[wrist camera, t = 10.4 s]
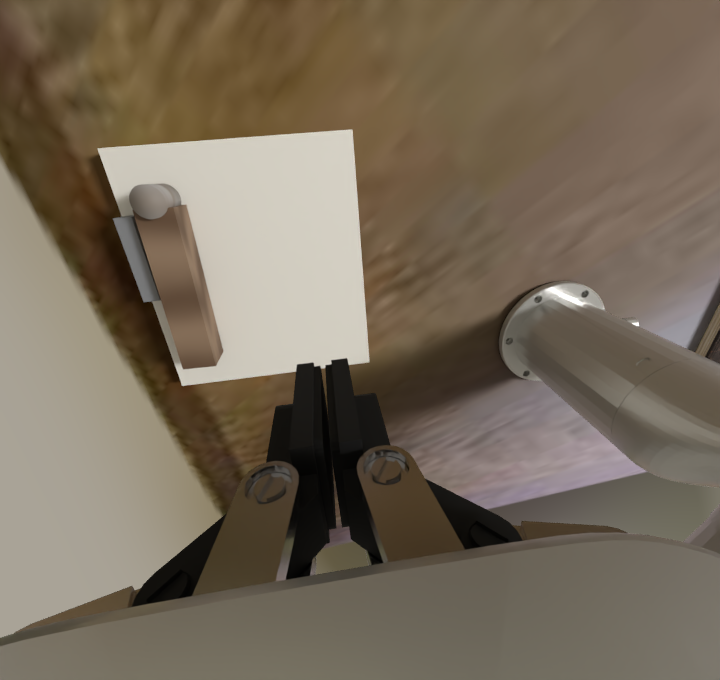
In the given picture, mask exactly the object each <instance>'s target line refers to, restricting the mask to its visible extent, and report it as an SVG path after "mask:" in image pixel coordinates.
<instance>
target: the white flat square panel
mask: <svg viewBox="0 0 720 680" xmlns="http://www.w3.org/2000/svg"><path fill="white" fill-rule="evenodd" d="M97 149H98V152H99V154H100V157H101V160H102V163H103V166H104V168H105V171H106V174H107V177H108V180H109V182H110V185H111V188H112V191H113V194H114V196H115V199H116V202H117V205H118V208H119V210H120V213H121V216H122V217H117V218H113V220H114V223H115V226H116V228H117V231H118V234H119V237H120V239H121V242H122V245H123V247H124V250H125V253H126V256H127V258H128V261H129V264H130V266H131V269H132V272H133V275H134V277H135V280H136V283H137V285H138V288H139V291H140V293H141V296H142V299H143V302H151V301H152V303H153V305H154V308H155V311H156V314H157V317H158V319H159V322H160V325H161V328H162V331H163V333H164V336H165V339H166V342H167V345H168V347H169V350H170V353H171V356H172V359H173V361H174V364H175V367H176V370H177V373H178V375H179V378H180V381H181V384H182V386H185V385H193V384H201V383H209V382H217V381H225V380H233V379H241V378H249V377H257V376H265V375H273V374H281V373H289V372H296V368H297V364H304V363H312V362H313V363H314V366H320V367H321V368H325V365H330V364H332V363H331V360H336V359H344V358H347V360H348V365H352V364H360V363H368V362H369V350H368V337H367V323H366V309H365V296H364V282H363V268H362V255H361V241H360V227H359V213H358V200H357V186H356V172H355V159H354V145H353V131H352V130H340V131H326V132H313V133H299V134H286V135H272V136H259V137H245V138H232V139H218V140H205V141H191V142H178V143H164V144H151V145H138V146H124V147H111V148H97ZM141 184H168V185H170V186H172V187H173V188H175V189H176V190H177V192H178V193H179V195H180V197H181V205H187V209H188V213H189V217H190V221H191V225H192V229H193V233H194V237H195V241H196V245H197V248H198V252H199V256H200V260H201V264H202V268H203V272H204V276H205V280H206V284H207V288H208V292H209V296H210V300H211V304H212V308H213V312H214V316H215V320H216V324H217V328H218V332H219V336H220V340H221V344H222V348H223V353H222V355H221V357H220V359H219V361H218V363H217V365H216V366H212V367H202V368H192V369H183V368H182V365H181V362H180V359H179V356H178V352H177V349H176V346H175V343H174V340H173V337H172V333H171V330H170V327H169V324H168V321H167V318H166V315H165V311H164V308H163V305H162V302H161V299H160V296H159V293H158V289H157V286H156V283H155V280H154V277H153V274H152V271H151V267H150V264H149V261H148V258H147V255H146V252H145V249H144V245H143V242H142V239H141V236H140V233H139V230H138V226H137V223H136V220H135V217H134V214H133V211H132V210H133V208H132V207H131V204H130V201H129V194H130V192H131V190H132V189H133V188H134V187H135V186H137V185H141Z"/></svg>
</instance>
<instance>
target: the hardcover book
mask: <svg viewBox="0 0 720 680" xmlns="http://www.w3.org/2000/svg"><path fill="white" fill-rule="evenodd" d="M695 353H697V354H699V355H701V356H703V357H705V358H708V359H710V360H712V361H714V362H716V363H719V364H720V303H719V305H718V307H717V309H716V311H715V313H714V315H713V318H712V320H711V322H710V324H709V326H708V328H707V330H706V332H705V334H704V336H703V338H702V340H701V342H700V344H699V346H698V348H697V350H696V352H695Z"/></svg>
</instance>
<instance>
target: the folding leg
mask: <svg viewBox="0 0 720 680" xmlns="http://www.w3.org/2000/svg"><path fill="white" fill-rule="evenodd" d="M129 201H130V204H131V207H132V208H133V210H132V211H133V214H134V217H135V220H136V223H137V226H138V230H139V233H140V236H141V239H142V242H143V245H144V249H145V252H146V255H147V258H148V261H149V264H150V267H151V271H152V274H153V277H154V280H155V283H156V286H157V289H158V293H159V296H160V299H161V302H162V305H163V308H164V311H165V315H166V318H167V321H168V324H169V327H170V330H171V333H172V337H173V340H174V343H175V346H176V349H177V352H178V356H179V359H180V362H181V365H182V368H183V369H192V368H202V367H212V366H216V365H217V363H218V361H219V359H220V357H221V355H222V353H223V348H222V344H221V340H220V336H219V332H218V328H217V324H216V320H215V316H214V312H213V308H212V304H211V300H210V296H209V292H208V288H207V284H206V280H205V276H204V272H203V268H202V264H201V260H200V256H199V252H198V248H197V245H196V241H195V237H194V233H193V229H192V225H191V221H190V217H189V213H188V209H187V205H181V197H180V195H179V193H178V192H177V190H176V189H175V188H173V187H172V186H170V185H168V184H141V185H137V186H135V187H134V188H133V189H132V190H131V192H130V194H129Z"/></svg>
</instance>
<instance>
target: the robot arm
mask: <svg viewBox="0 0 720 680" xmlns="http://www.w3.org/2000/svg"><path fill="white" fill-rule="evenodd" d="M638 326H639V322H638V320H637V319H636V318H633V317H631V318H623V319H621V318H619V317H617V316H614V315H612V314H610V313H608V312H606V311H605V307H604V305H603V302H602V300H601V298H600V297H599V295H598V294H597V293H596V292H595V291H593V290H592V289H591V288H589V287H587V286H585V285H582V284H579V283H576V282H572V281H558V282H552V283H549V284H545V285H543V286H541V287H538V288H536V289H534V290H533V291H531V292H530V293H528V294H527V295H525V296H524V297H523V298H522V299H521V300H520V301H519V302H518V303H517V304H516V305H515V306H514V307H513V308H512V310H511V311H510V312H509V314H508V315H507V317H506V319H505V321H504V323H503V326H502V328H501V331H500V337H499V351H500V355H501V358H502V360H503V362H504V363H505V365H506V366H507V367H508V368H509V369H510V370H511V371H512V372H513V373H514V374H516V375H517V376H519V377H521V378H523V379H526V380H531V381H543V382H544V383H545V384H546V385H548V386H549V387H550V388H551V389H552V390H553V391H554V392H555V393H556V394H558V395H559V396H560V397H561V398H562V399H563V400H564V401H565V402H567V403H568V404H569V405H570V406H571V407H572V408H573V409H574V410H575V411H577V412H578V413H579V414H580V415H581V416H582V417H583V418H584V419H586V420H587V421H588V422H589V423H590V424H591V425H592V426H593V427H595V428H596V429H597V430H598V431H599V432H600V433H601V434H602V435H603V436H605V437H606V438H607V439H608V440H609V441H610V442H611V443H612V444H614V445H615V446H616V447H617V448H618V449H619V450H620V451H621V452H622V453H623V454H625V455H626V456H627V457H628V458H629V459H630V460H631V461H633V462H634V463H635V464H637V465H638V466H639V467H641V468H643V469H644V470H646V471H648V472H650V473H652V474H654V475H656V476H659V477H662V478H665V479H668V480H672V481H675V482H681V483H686V484H693V485H701V486H709V487H719V488H720V364H719V363H716V362H714V361H712V360H710V359H708V358H705V357H703V356H701V355H699V354H697V353H695V352H692V351H690V350H688V349H686V348H684V347H682V346H679V345H677V344H675V343H673V342H671V341H669V340H666V339H664V338H662V337H660V336H658V335H656V334H653V333H651V332H649V331H647V330H645V329H643V328H640V327H638ZM331 363H332V364H330V365H325V368H326V385H327V402H328V414H327V407H326V400H325V394H324V387H323V380H322V373H321V367H320V366H314V363H313V362H312V363H304V364H297V368H296V379H295V390H294V400H293V404H288V405H281V406H276V408H275V413H274V419H273V425H272V431H271V437H270V443H269V449H268V455H267V461H266V463H264V464H261V465H259V466H257V467H255V468H254V469H252V470H251V471H249V472H248V473H247V474H246V475H245V476H244V477H243V479H242V481H241V482H240V484H239V486H238V489H237V491H236V493H235V496H234V498H233V500H232V503H231V505H230V507H229V510H228V512H227V514H225V515H224V516H223V517H222V518H221V519H219V520H218V521H217V522H216V523H215V524H213V525H212V526H211V527H210V528H209V529H207V530H206V531H205V532H204V533H203V534H202V535H200V536H199V537H198V538H197V539H195V540H194V541H193V542H192V543H191V544H189V545H188V546H187V547H186V548H184V549H183V550H182V551H181V552H180V553H179V554H177V555H176V556H175V557H174V558H172V559H171V560H170V561H169V562H168V563H166V564H165V565H164V566H163V567H162V568H161V569H159V570H158V571H157V572H156V573H154V574H153V576H152V577H150V578H149V579H148V580H147V581H146V583H144V585H143V586H142V588H140V589H138V590H134V588H133V587H132V586H130V587H128V588H125V589H122V590H120V591H117V592H114V593H112V594H109V595H107V596H104V597H101V598H99V599H96V600H93V601H91V602H88V603H85V604H83V605H80V606H78V607H75V608H72V609H69V610H67V611H64V612H61V613H59V614H56V615H54V616H51V617H48V618H46V619H43V620H40V621H38V622H35V623H32V624H30V625H28V626H26V627H25V628H22V629H20V630H19V631H17V632H15V633H14V634H11V635H8V636H5V637H2V638H0V680H720V504H719V505H718V506H717V507H716V508H715V509H714V510H713V511H712V512H711V514H710V517H709V518H708V519H707V520H706V521H705V522H703V523H702V524H701V525H700V526H699V527H698V528H697V529H696V530H695V531H694V532H693V533H692V534H691V535H690V536H689V537H688V538H687V539H686V540H684V541H683V542H681V541H676V540H671V539H666V538H661V537H656V536H650V535H642V534H629V533H626V532H624V531H622V530H620V529H618V528H613V527H608V526H597V525H581V524H564V523H546V522H529V521H522V522H521V526H514V525H511V524H510V523H509V522H508V521H506V520H504V519H503V518H502V517H500V516H498V515H496V514H494V513H492V512H490V511H488V510H486V509H484V508H482V507H480V506H478V505H476V504H474V503H472V502H470V501H468V500H466V499H464V498H462V497H460V496H458V495H456V494H454V493H453V492H451V491H449V490H447V489H445V488H443V487H441V486H439V485H437V484H435V483H433V482H431V481H429V480H427V479H425V478H424V476H423V475H422V473H421V471H420V469H419V468H418V466H417V464H416V462H415V461H414V459H413V458H412V456H411V455H410V454H409V453H408V452H407V451H405V450H403V449H402V448H399V447H396V446H390V442H389V439H388V435H387V432H386V428H385V425H384V421H383V418H382V414H381V411H380V407H379V403H378V400H377V396H376V394H375V393H371V394H363V395H356V396H354V392H353V387H352V381H351V376H350V370H349V365H348V360H347V358H344V359H336V360H331ZM328 419H329V421H328ZM332 461H333V467H332ZM333 468H334V475H335V481H336V488H337V495H338V502H339V508H340V515H341V522H342V527H348V526H349V527H350V535H351V539H352V540H353V541H354V542H356V543H357V544H359V545H360V546H361V547H363V548H364V549H365V550H366V556H367V561H368V564H369V566H364V567H358V568H353V569H347V570H341V571H335V572H329V573H323V574H317V575H315V573H316V555H317V554H318V552H319V551H320V550H321V549H322V548H323V547H324V546H325V544H326V543H330V539H329V529H335V528H336V515H335V499H334V483H333Z"/></svg>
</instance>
